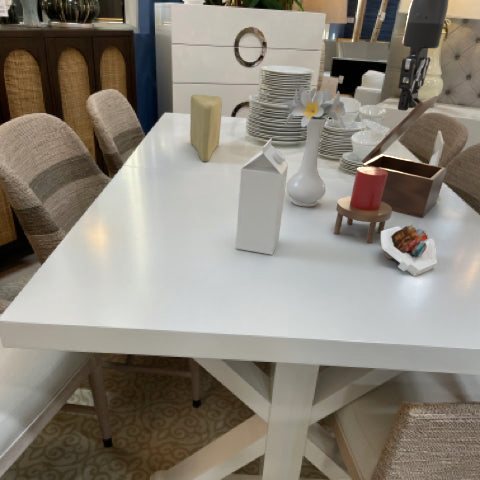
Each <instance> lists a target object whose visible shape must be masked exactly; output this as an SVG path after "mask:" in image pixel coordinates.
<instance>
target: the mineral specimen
mask: <svg viewBox="0 0 480 480" xmlns="http://www.w3.org/2000/svg"><path fill="white" fill-rule="evenodd" d="M380 245H381V249H382V250H383V253H384V254H385V256H386V258H387V259H388V260H391V259H392V260H393V262H394V263H396V261H397V262H398V263H399V264H398V265H397V267H398V269H400V270H401V271H402V272H408V273H409V274H411V275H412V276H413V277H416V276H418V275H421V274H422V273H425V272H428V271H430V270H433V269H434V267H435V266H436V265H437V264H438V261H437V260H438V259H437V249H436V241H435V240H434V239H432V238H431V237H430V238H429V237H428V234H427V233H426V230H425V229H423V228H418V229H416V227H414V225H413V224H411V225H405V226H404V227H402V228H401V226H399V225H396V226H392V227H390V228H387V229H384V230H383V231H381V233H380Z"/></svg>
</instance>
